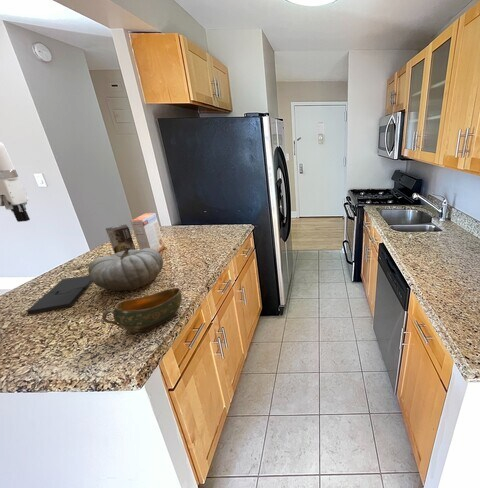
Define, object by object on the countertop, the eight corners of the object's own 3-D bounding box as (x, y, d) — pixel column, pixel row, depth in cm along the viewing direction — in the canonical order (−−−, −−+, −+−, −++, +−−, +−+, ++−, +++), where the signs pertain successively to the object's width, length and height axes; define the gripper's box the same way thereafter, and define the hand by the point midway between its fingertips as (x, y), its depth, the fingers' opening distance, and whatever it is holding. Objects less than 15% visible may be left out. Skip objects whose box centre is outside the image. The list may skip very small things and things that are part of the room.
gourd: (150, 292, 101) (132, 250, 96) (83, 307, 99) (61, 266, 94) (176, 268, 125) (163, 234, 120) (123, 280, 123) (107, 246, 118)
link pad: (45, 299, 101) (43, 296, 101) (63, 282, 114) (62, 279, 113) (83, 293, 106) (82, 290, 105) (97, 277, 118) (95, 274, 117)
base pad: (28, 314, 93) (26, 310, 92) (47, 296, 103) (45, 293, 103) (70, 306, 97) (69, 303, 96) (84, 290, 107) (83, 287, 107)
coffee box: (135, 251, 145) (126, 224, 139) (137, 255, 140) (129, 226, 134) (114, 256, 139) (105, 227, 133) (116, 260, 134) (106, 230, 128)
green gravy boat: (122, 317, 91) (113, 292, 87) (185, 305, 98) (180, 281, 94) (109, 342, 80) (98, 315, 76) (181, 326, 86) (174, 301, 83)
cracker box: (154, 248, 149) (144, 212, 141) (165, 247, 150) (156, 212, 142) (141, 258, 136) (129, 220, 128) (153, 257, 137) (142, 219, 129)
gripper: (3, 173, 105) (23, 217, 112) (-26, 178, 92) (-2, 227, 99) (27, 172, 108) (45, 215, 115) (2, 177, 95) (24, 224, 102)
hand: (23, 220), depth 107 cm, fingers closed
